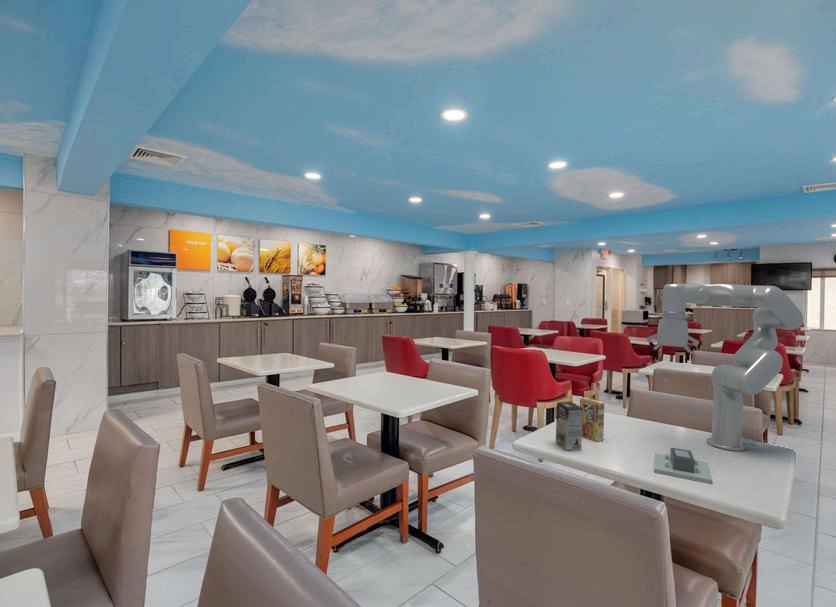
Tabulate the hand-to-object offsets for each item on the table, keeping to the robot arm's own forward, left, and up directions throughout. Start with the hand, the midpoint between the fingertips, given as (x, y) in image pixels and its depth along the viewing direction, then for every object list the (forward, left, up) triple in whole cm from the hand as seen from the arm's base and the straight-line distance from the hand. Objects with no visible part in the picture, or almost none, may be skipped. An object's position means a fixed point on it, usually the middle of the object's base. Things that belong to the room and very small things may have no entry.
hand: (671, 361), depth 166 cm
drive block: (-4, +21, -32) cm, 39 cm away
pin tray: (-4, +21, -33) cm, 40 cm away
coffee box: (+33, +20, -34) cm, 51 cm away
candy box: (+27, +5, -34) cm, 43 cm away
